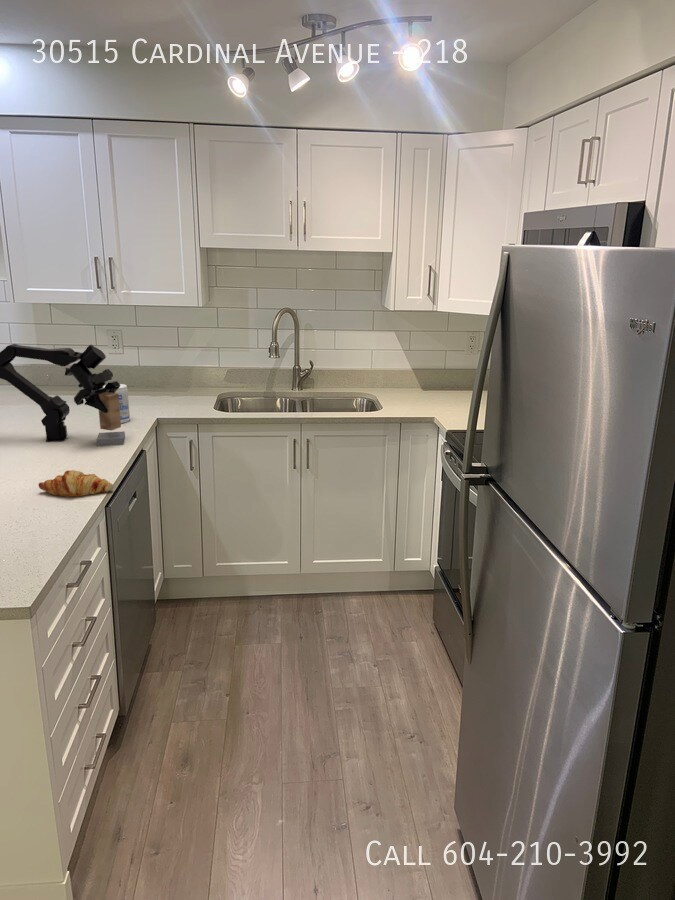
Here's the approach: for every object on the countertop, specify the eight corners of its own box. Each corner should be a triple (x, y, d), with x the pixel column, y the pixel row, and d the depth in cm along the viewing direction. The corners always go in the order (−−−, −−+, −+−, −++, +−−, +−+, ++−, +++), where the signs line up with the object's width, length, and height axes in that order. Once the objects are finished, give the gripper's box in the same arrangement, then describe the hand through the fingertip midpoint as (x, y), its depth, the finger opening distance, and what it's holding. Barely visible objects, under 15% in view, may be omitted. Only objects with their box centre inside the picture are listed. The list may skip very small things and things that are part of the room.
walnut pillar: (100, 428, 234) (97, 394, 230) (109, 425, 238) (107, 392, 235) (111, 430, 232) (108, 396, 228) (121, 427, 237) (118, 393, 233)
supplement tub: (117, 425, 260) (113, 389, 255) (100, 422, 264) (96, 386, 260) (135, 420, 268) (132, 385, 263) (118, 417, 272) (115, 382, 268)
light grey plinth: (97, 446, 233) (96, 439, 232) (99, 439, 241) (99, 432, 240) (123, 444, 235) (122, 438, 234) (125, 437, 243) (124, 431, 242)
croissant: (117, 499, 194) (118, 472, 196) (108, 495, 184) (110, 467, 186) (43, 499, 192) (45, 472, 194) (30, 495, 183) (32, 467, 184)
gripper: (77, 367, 221) (105, 402, 221) (114, 359, 238) (141, 391, 237) (61, 387, 226) (89, 422, 226) (98, 378, 243) (125, 410, 242)
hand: (112, 410), depth 233 cm, fingers closed on walnut pillar, 5 cm apart
